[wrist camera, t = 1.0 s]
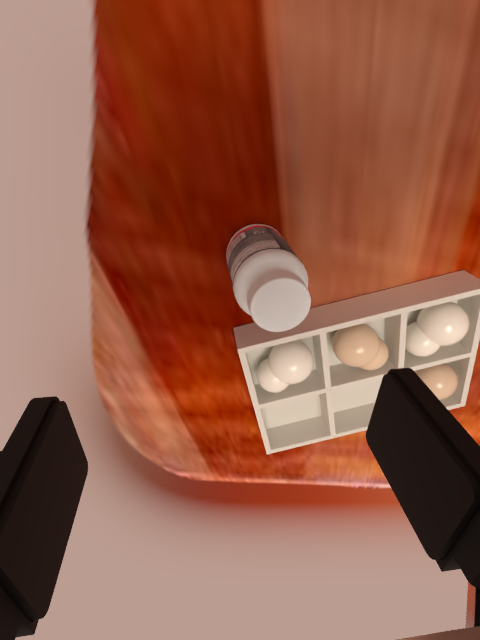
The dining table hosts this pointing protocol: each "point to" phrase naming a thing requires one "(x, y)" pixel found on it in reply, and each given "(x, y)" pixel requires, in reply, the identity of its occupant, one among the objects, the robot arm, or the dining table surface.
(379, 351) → the brown egg
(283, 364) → the cream egg
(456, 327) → the cream egg
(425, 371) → the brown egg
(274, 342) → the grey compartment tray
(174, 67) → the dining table surface
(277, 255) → the pill bottle
